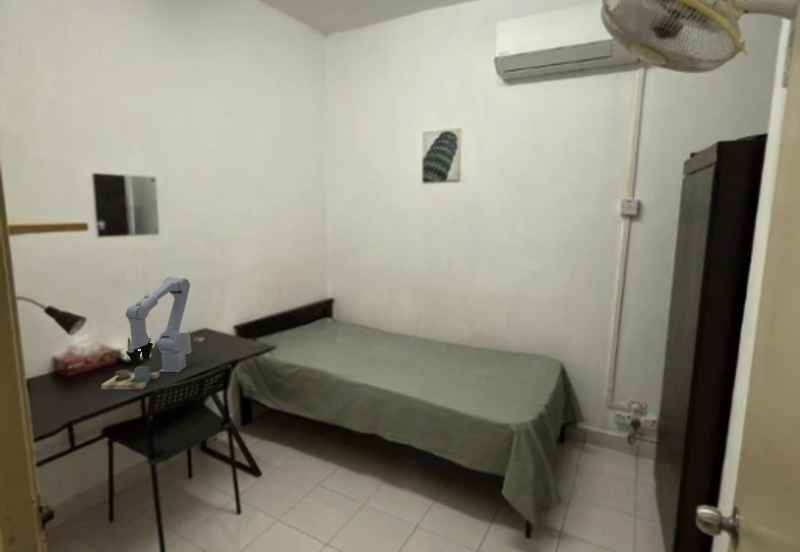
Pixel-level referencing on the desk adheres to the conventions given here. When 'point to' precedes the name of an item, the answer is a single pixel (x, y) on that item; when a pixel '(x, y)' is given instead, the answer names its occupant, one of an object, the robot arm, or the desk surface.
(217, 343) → the desk surface
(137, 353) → the robot arm
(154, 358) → the desk surface
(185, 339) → the skincare box
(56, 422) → the desk surface
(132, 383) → the notched board
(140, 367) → the tab peg
